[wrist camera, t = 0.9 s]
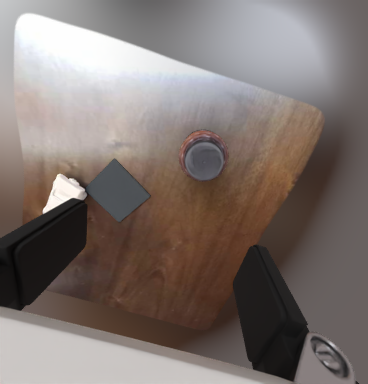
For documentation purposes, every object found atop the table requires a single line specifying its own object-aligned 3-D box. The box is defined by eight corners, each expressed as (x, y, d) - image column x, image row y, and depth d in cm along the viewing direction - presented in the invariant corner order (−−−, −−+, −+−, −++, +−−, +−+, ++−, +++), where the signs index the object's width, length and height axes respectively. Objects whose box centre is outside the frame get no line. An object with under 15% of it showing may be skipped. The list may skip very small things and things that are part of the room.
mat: (84, 189, 33) (83, 189, 32) (114, 158, 30) (114, 158, 30) (119, 221, 35) (119, 222, 34) (150, 195, 32) (150, 196, 32)
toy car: (47, 214, 36) (32, 223, 32) (66, 168, 31) (51, 173, 28) (70, 229, 36) (57, 238, 33) (92, 186, 32) (80, 192, 29)
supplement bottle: (192, 172, 30) (189, 198, 19) (177, 139, 28) (164, 148, 17) (226, 157, 28) (241, 176, 18) (212, 122, 27) (220, 120, 16)
